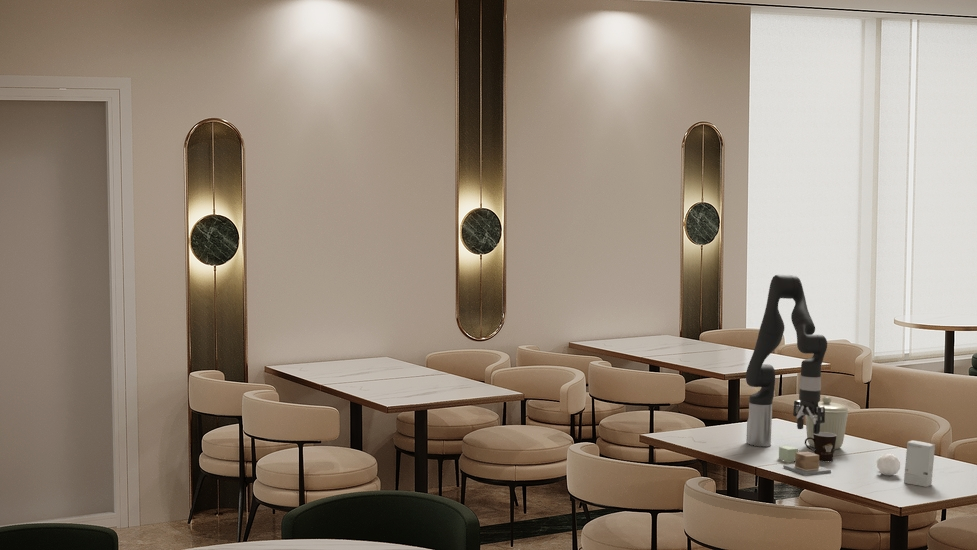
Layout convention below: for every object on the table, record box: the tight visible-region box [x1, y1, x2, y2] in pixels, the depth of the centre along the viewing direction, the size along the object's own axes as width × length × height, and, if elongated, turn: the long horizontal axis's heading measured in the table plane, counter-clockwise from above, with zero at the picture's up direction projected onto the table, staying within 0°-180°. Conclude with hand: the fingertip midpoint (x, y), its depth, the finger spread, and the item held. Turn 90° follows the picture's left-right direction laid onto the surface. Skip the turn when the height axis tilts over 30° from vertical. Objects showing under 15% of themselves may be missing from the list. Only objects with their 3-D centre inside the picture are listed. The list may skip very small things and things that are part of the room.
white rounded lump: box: [876, 453, 901, 476], centre depth 373 cm, size 8×8×12 cm
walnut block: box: [794, 451, 820, 470], centre depth 376 cm, size 6×6×5 cm
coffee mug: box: [804, 432, 837, 463], centre depth 394 cm, size 12×9×10 cm
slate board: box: [782, 463, 832, 476], centre depth 376 cm, size 12×12×1 cm
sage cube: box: [778, 445, 799, 463], centre depth 391 cm, size 5×5×5 cm
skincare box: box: [903, 440, 936, 488], centre depth 359 cm, size 8×6×15 cm
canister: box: [804, 396, 851, 451], centre depth 415 cm, size 18×18×21 cm
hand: (808, 431), depth 375 cm, fingers open, 8 cm apart
